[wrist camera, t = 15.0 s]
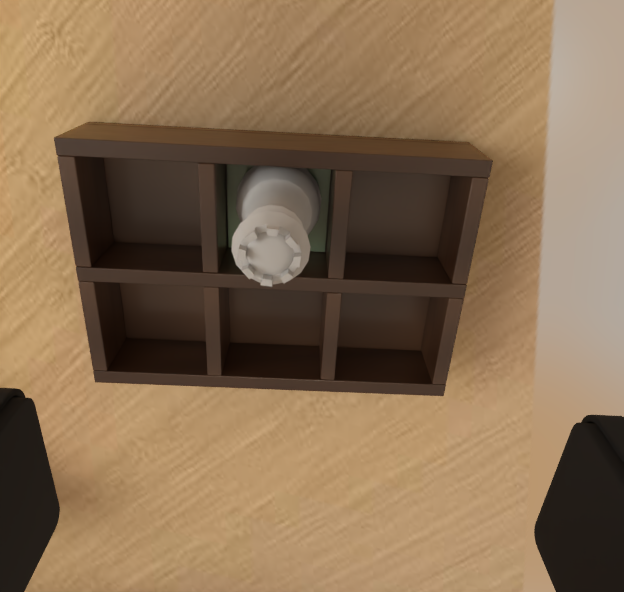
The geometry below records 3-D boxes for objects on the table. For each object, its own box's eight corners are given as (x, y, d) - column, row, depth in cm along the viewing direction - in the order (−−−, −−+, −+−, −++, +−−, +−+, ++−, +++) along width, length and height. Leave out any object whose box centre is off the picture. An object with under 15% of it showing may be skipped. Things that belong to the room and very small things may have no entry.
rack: (87, 121, 27) (53, 137, 23) (469, 142, 28) (493, 160, 24) (118, 342, 33) (94, 382, 30) (429, 355, 34) (443, 396, 30)
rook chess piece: (305, 248, 29) (304, 320, 22) (227, 222, 29) (200, 289, 22) (333, 172, 28) (341, 225, 20) (250, 143, 27) (229, 187, 20)
